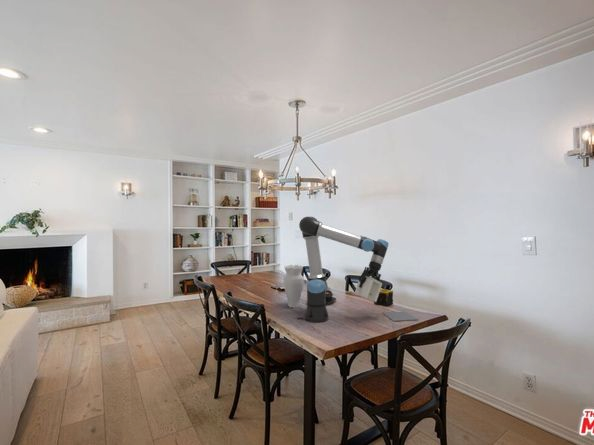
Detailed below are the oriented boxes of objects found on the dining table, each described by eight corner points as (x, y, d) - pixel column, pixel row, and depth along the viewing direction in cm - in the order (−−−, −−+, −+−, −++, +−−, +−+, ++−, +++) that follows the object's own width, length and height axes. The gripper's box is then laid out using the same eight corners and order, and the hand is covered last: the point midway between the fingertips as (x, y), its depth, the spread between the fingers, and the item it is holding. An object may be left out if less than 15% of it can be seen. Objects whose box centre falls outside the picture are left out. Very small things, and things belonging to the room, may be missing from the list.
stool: (376, 302, 185) (364, 298, 193) (382, 283, 188) (370, 280, 196) (366, 297, 180) (354, 293, 188) (372, 277, 183) (360, 274, 191)
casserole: (319, 308, 209) (319, 296, 209) (301, 303, 223) (301, 292, 223) (342, 302, 226) (342, 291, 226) (324, 297, 240) (324, 287, 240)
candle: (374, 304, 219) (373, 290, 219) (380, 301, 226) (380, 288, 226) (387, 307, 212) (386, 293, 212) (393, 304, 219) (393, 290, 219)
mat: (393, 321, 181) (393, 320, 181) (382, 313, 197) (382, 312, 197) (418, 320, 183) (418, 319, 183) (405, 312, 199) (405, 311, 199)
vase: (279, 306, 216) (279, 266, 216) (294, 302, 226) (294, 263, 226) (292, 310, 205) (292, 268, 205) (308, 306, 215) (307, 266, 215)
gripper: (369, 257, 183) (357, 291, 179) (390, 269, 195) (380, 302, 190) (360, 255, 190) (348, 288, 185) (381, 267, 201) (371, 299, 197)
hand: (364, 295), depth 188 cm, fingers closed on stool, 10 cm apart
